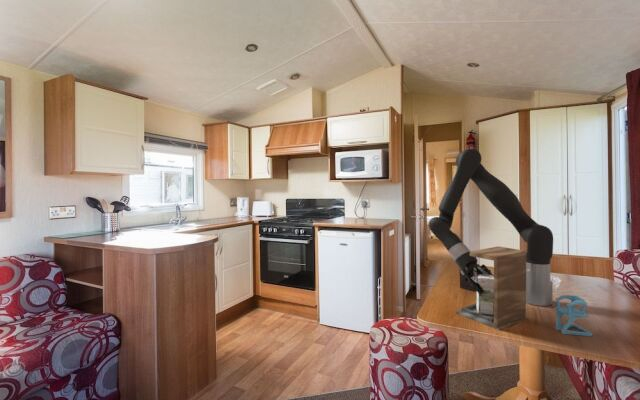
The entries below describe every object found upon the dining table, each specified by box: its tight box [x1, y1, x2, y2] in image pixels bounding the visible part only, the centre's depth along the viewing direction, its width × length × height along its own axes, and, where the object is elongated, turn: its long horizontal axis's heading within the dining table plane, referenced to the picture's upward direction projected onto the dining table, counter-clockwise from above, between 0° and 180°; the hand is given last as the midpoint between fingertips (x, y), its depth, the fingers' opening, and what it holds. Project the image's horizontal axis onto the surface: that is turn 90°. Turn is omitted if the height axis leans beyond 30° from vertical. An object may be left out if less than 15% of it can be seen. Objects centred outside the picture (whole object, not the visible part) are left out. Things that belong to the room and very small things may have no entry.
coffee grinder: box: [459, 257, 492, 293], centre depth 151 cm, size 16×11×18 cm
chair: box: [554, 294, 593, 337], centre depth 104 cm, size 8×8×12 cm
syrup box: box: [475, 274, 494, 315], centre depth 120 cm, size 6×6×14 cm
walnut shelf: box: [455, 245, 527, 331], centre depth 118 cm, size 17×18×26 cm
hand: (489, 291), depth 118 cm, fingers open, 8 cm apart
